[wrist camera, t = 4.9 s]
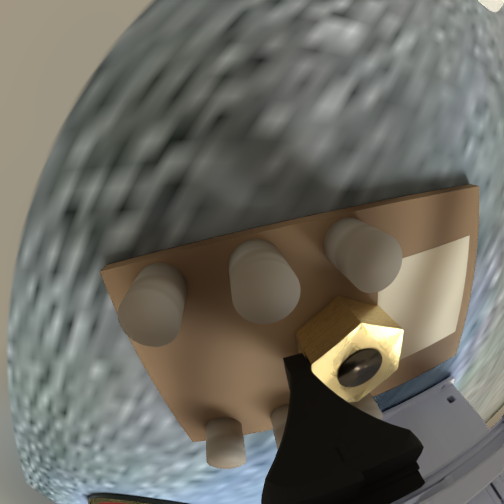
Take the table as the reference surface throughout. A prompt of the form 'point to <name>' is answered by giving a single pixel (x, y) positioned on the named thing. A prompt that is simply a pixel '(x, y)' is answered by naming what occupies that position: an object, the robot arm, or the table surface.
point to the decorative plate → (125, 499)
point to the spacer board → (258, 349)
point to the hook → (492, 4)
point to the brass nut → (351, 346)
